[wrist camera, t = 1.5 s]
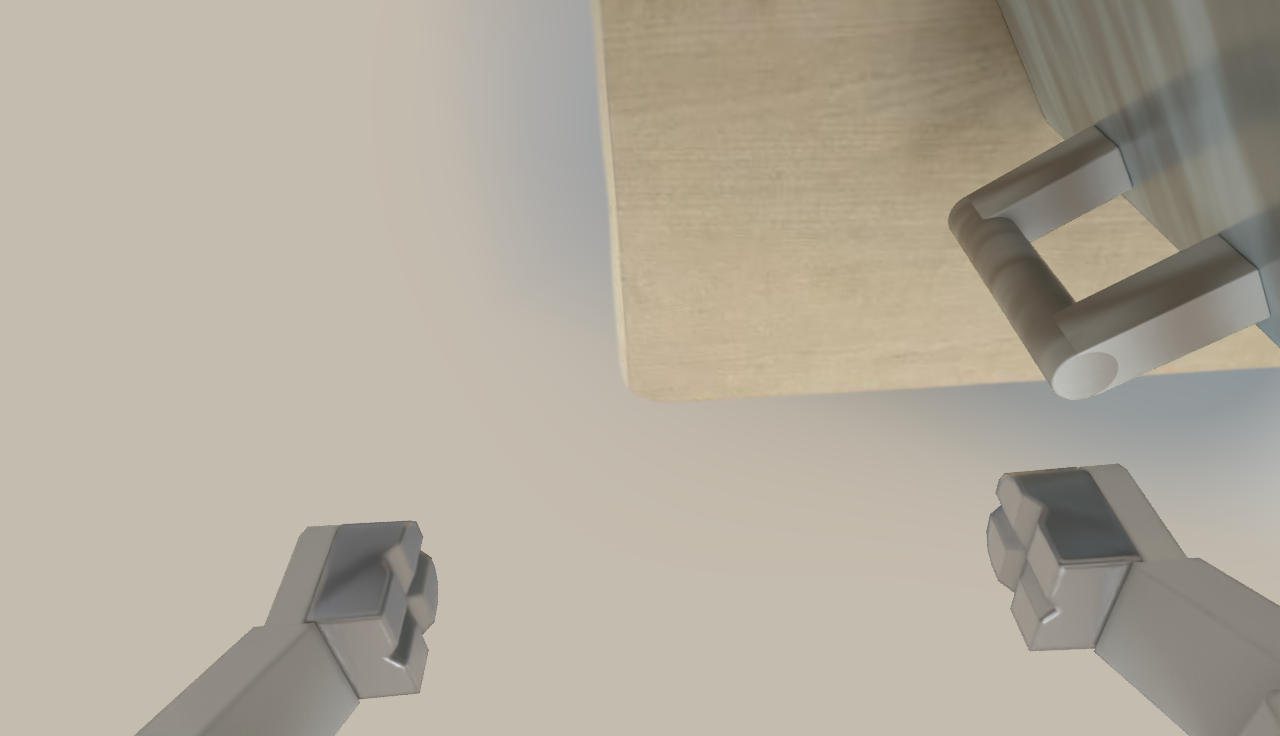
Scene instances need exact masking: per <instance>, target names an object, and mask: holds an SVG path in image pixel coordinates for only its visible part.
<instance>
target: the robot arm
mask: <svg viewBox="0 0 1280 736" xmlns="http://www.w3.org/2000/svg"><path fill="white" fill-rule="evenodd" d="M996 495H997V496H998V499H999V501H1000V503H1001V506H1000V507H998V508H997V509H996V510H995V511H994V512H993V513H991V514H990V517H989V522H988V526H987V547H988V553H989V557H990V561H991V564H992V567H993V569H994V572H995V574H996V577H997V579H998V581H999V582H1000V583H1002V584H1003V585H1004V586H1006V587H1008V588H1009V589H1010V590H1011V591H1013V592H1014V593H1015V595H1014V598H1013V602H1012V605H1011V611H1012V613H1013V616H1014V618H1015V620H1016V622H1017V625H1018V627H1019V629H1020V631H1021V634H1022V636H1023V638H1024V640H1025V643H1026V645H1027V647H1028V649H1029V651H1044V650H1045V651H1046V650H1068V649H1092V648H1095V650H1094V652H1095V653H1096V654H1097V655H1098V656H1100V657H1101V658H1102V659H1103V660H1104V661H1105V662H1106V663H1108V664H1109V665H1110V666H1111V667H1112V668H1113V669H1114V670H1115V671H1117V672H1118V673H1119V674H1120V675H1121V676H1122V677H1123V678H1125V679H1126V680H1127V681H1128V682H1129V683H1130V684H1131V685H1133V686H1134V687H1135V688H1136V689H1137V690H1138V691H1139V692H1140V693H1142V694H1143V695H1144V696H1145V697H1146V698H1147V699H1148V700H1150V701H1151V702H1152V703H1153V704H1154V705H1155V706H1156V707H1157V708H1158V709H1160V710H1161V711H1162V712H1163V713H1164V714H1165V715H1166V716H1168V717H1169V718H1170V719H1171V720H1172V721H1173V722H1174V723H1175V724H1177V725H1178V726H1179V727H1180V728H1181V729H1182V730H1183V731H1185V732H1186V733H1187V734H1188V735H1189V736H1280V606H1279V605H1277V604H1275V603H1274V602H1272V601H1270V600H1268V599H1267V598H1265V597H1264V596H1262V595H1260V594H1259V593H1257V592H1255V591H1254V590H1252V589H1250V588H1249V587H1247V586H1245V585H1244V584H1242V583H1240V582H1238V581H1237V580H1235V579H1234V578H1232V577H1230V576H1229V575H1227V574H1225V573H1224V572H1222V571H1220V570H1219V569H1217V568H1215V567H1214V566H1212V565H1210V564H1209V563H1207V562H1205V561H1204V560H1202V559H1200V558H1187V557H1186V555H1185V554H1184V552H1183V551H1182V549H1181V548H1180V546H1179V545H1178V543H1177V542H1176V540H1175V539H1174V538H1173V536H1172V535H1171V533H1170V532H1169V530H1168V529H1167V527H1166V526H1165V524H1164V523H1163V522H1162V520H1161V519H1160V517H1159V516H1158V514H1157V513H1156V511H1155V510H1154V508H1153V507H1152V506H1151V504H1150V503H1149V501H1148V500H1147V498H1146V497H1145V495H1144V494H1143V493H1142V491H1141V489H1140V488H1139V487H1138V485H1137V484H1136V482H1135V481H1134V479H1133V478H1132V476H1131V475H1130V473H1129V472H1128V470H1127V469H1126V468H1124V467H1123V466H1121V465H1120V464H1110V465H1097V466H1086V467H1079V468H1077V467H1069V468H1058V469H1047V470H1037V471H1025V472H1014V473H1004V475H1003V476H1002V477H1001V478H1000V479H999V482H998V485H997V489H996ZM422 539H423V536H422V533H421V531H420V529H419V527H418V524H417V522H416V521H395V522H378V523H377V522H376V523H357V524H342V525H328V526H312V527H307V528H306V529H305V531H304V532H303V533H302V534H301V535H300V536H299V538H298V541H297V544H296V546H295V549H294V551H293V554H292V556H291V559H290V562H289V564H288V566H287V569H286V571H285V574H284V577H283V579H282V582H281V585H280V587H279V589H278V592H277V594H276V597H275V600H274V602H273V605H272V608H271V610H270V612H269V615H268V617H267V620H266V622H265V625H264V626H261V627H253V628H252V629H251V630H250V631H249V632H248V633H247V634H246V635H244V636H243V637H242V638H241V639H240V640H239V641H238V642H237V643H236V644H235V645H233V646H232V647H231V648H230V649H229V650H228V651H227V652H226V653H225V654H224V655H222V656H221V657H220V658H219V659H218V660H217V661H216V662H215V663H214V664H212V665H211V666H210V667H209V668H208V669H207V670H206V671H205V672H204V673H203V674H201V675H200V676H199V677H198V678H197V679H196V680H195V681H194V682H193V683H192V684H190V685H189V686H188V687H187V688H186V689H185V690H184V691H183V692H182V693H180V694H179V695H178V696H177V697H176V698H175V699H174V700H173V701H172V702H171V703H169V705H167V706H166V707H165V708H164V709H163V710H162V711H161V712H160V713H158V714H157V715H156V716H155V717H154V718H153V719H152V720H151V721H150V722H149V723H147V724H146V725H145V726H144V727H143V728H142V729H141V730H140V731H139V732H138V733H137V734H136V735H134V736H335V734H336V733H337V732H338V730H339V729H340V728H341V727H342V725H343V724H344V723H345V721H346V720H347V719H348V718H349V716H350V715H351V714H352V712H353V711H354V710H355V709H356V707H357V706H358V705H359V703H360V701H359V699H366V698H377V697H387V696H397V695H408V694H418V693H420V689H421V684H422V679H423V675H424V670H425V665H426V660H427V655H428V651H429V650H428V648H427V645H426V643H425V641H424V638H423V636H422V635H423V634H424V632H426V630H427V629H428V628H429V627H430V626H431V625H432V624H433V623H434V621H435V616H436V610H437V605H438V604H437V603H438V581H437V576H436V570H435V566H434V564H433V561H432V558H431V557H430V556H429V555H427V554H425V553H424V552H422V551H421V550H420V548H421V544H422Z"/></svg>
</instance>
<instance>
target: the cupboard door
mask: <svg viewBox="0 0 1280 736" xmlns="http://www.w3.org/2000/svg"><path fill="white" fill-rule="evenodd" d="M997 1H998V4H999V6H1000V9H1001V11H1002V14H1003V16H1004V18H1005V21H1006V23H1007V26H1008V28H1009V31H1010V33H1011V35H1012V38H1013V40H1014V43H1015V45H1016V48H1017V50H1018V52H1019V55H1020V57H1021V60H1022V62H1023V65H1024V67H1025V69H1026V72H1027V74H1028V77H1029V79H1030V82H1031V84H1032V86H1033V89H1034V91H1035V94H1036V96H1037V99H1038V101H1039V103H1040V106H1041V108H1042V111H1043V113H1044V116H1045V118H1046V120H1047V123H1048V124H1049V125H1050V126H1051V127H1052V128H1053V129H1054V130H1055V131H1056V132H1057V133H1058V134H1059V135H1060V136H1061V137H1063V138H1064V139H1065V141H1063V142H1062V143H1060V144H1058V145H1056V146H1055V147H1053V148H1051V149H1049V150H1047V151H1046V152H1044V153H1042V154H1040V155H1039V156H1037V157H1035V158H1033V159H1031V160H1030V161H1028V162H1026V163H1024V164H1023V165H1021V166H1019V167H1017V168H1016V169H1014V170H1012V171H1010V172H1008V173H1007V174H1005V175H1003V176H1001V177H1000V178H998V179H996V180H994V181H992V182H991V183H989V184H987V185H985V186H984V187H982V188H980V189H978V190H977V191H975V192H973V193H971V194H969V195H968V196H966V197H964V198H962V199H961V200H960V201H958V202H957V203H956V204H955V206H954V207H953V208H952V210H951V212H950V214H949V219H948V224H949V228H950V230H951V231H952V233H953V235H954V236H955V238H956V239H957V241H958V242H959V244H960V246H961V247H962V249H963V250H964V252H965V253H966V255H967V256H968V258H969V260H970V261H971V263H972V264H973V266H974V267H975V269H976V271H977V272H978V274H979V275H980V277H981V278H982V280H983V281H984V283H985V285H986V286H987V288H988V289H989V291H990V292H991V294H992V296H993V297H994V299H995V300H996V302H997V303H998V305H999V306H1000V308H1001V310H1002V311H1003V313H1004V314H1005V316H1006V317H1007V319H1008V320H1009V322H1010V324H1011V325H1012V327H1013V328H1014V330H1015V331H1016V333H1017V335H1018V336H1019V338H1020V339H1021V341H1022V342H1023V344H1024V345H1025V347H1026V349H1027V350H1028V352H1029V353H1030V355H1031V356H1032V358H1033V360H1034V361H1035V363H1036V364H1037V366H1038V367H1039V369H1040V370H1041V372H1042V374H1043V375H1044V377H1045V378H1046V380H1047V381H1048V383H1049V385H1050V386H1051V388H1052V389H1053V391H1054V392H1055V393H1056V394H1057V395H1059V396H1061V397H1063V398H1065V399H1071V400H1079V399H1085V398H1089V397H1092V396H1094V395H1097V394H1100V393H1102V392H1104V391H1107V390H1109V389H1111V388H1113V387H1116V386H1118V385H1120V384H1122V383H1124V382H1127V381H1129V380H1131V379H1133V378H1136V377H1138V376H1140V375H1142V374H1144V373H1147V372H1149V371H1151V370H1153V369H1156V368H1158V367H1160V366H1162V365H1164V364H1167V363H1169V362H1171V361H1173V360H1176V359H1178V358H1180V357H1182V356H1184V355H1187V354H1189V353H1191V352H1193V351H1196V350H1198V349H1200V348H1202V347H1204V346H1207V345H1209V344H1211V343H1213V342H1216V341H1218V340H1220V339H1222V338H1224V337H1227V336H1229V335H1231V334H1233V333H1236V332H1238V331H1240V330H1242V329H1244V328H1247V327H1249V326H1251V325H1253V324H1256V325H1257V326H1258V327H1259V328H1260V329H1261V330H1262V331H1263V332H1264V333H1265V334H1266V335H1267V336H1268V337H1269V338H1270V339H1271V340H1272V341H1273V342H1274V343H1275V344H1276V345H1277V346H1278V347H1279V348H1280V0H997ZM1119 195H1122V196H1123V197H1124V198H1126V199H1127V200H1128V201H1129V202H1130V203H1131V204H1132V205H1133V206H1134V207H1135V208H1136V209H1137V210H1138V211H1139V212H1140V213H1141V214H1142V215H1143V216H1144V217H1145V218H1146V219H1147V220H1148V221H1149V222H1150V223H1151V224H1152V225H1153V226H1154V227H1155V228H1157V229H1158V230H1159V231H1160V232H1161V233H1162V234H1163V235H1164V236H1165V237H1166V238H1167V239H1168V240H1169V241H1170V242H1171V243H1172V244H1173V245H1174V246H1175V247H1176V248H1177V249H1178V250H1179V251H1180V252H1178V253H1176V254H1174V255H1172V256H1170V257H1168V258H1166V259H1164V260H1162V261H1160V262H1158V263H1156V264H1154V265H1152V266H1150V267H1148V268H1146V269H1144V270H1142V271H1140V272H1138V273H1136V274H1134V275H1132V276H1130V277H1128V278H1126V279H1124V280H1122V281H1120V282H1118V283H1115V284H1113V285H1111V286H1109V287H1107V288H1105V289H1103V290H1101V291H1099V292H1097V293H1095V294H1093V295H1091V296H1089V297H1087V298H1085V299H1083V300H1081V301H1079V302H1077V303H1076V302H1075V300H1074V299H1073V298H1072V296H1071V295H1070V294H1069V293H1068V291H1067V290H1066V289H1065V287H1064V286H1063V285H1062V283H1061V282H1060V281H1059V280H1058V278H1057V277H1056V276H1055V274H1054V273H1053V272H1052V271H1051V269H1050V268H1049V267H1048V265H1047V264H1046V263H1045V261H1044V260H1043V259H1042V258H1041V256H1040V255H1039V254H1038V252H1037V251H1036V250H1035V248H1034V247H1033V246H1032V245H1031V243H1030V242H1032V241H1034V240H1036V239H1038V238H1040V237H1042V236H1043V235H1045V234H1047V233H1049V232H1051V231H1053V230H1055V229H1057V228H1059V227H1060V226H1062V225H1064V224H1066V223H1068V222H1070V221H1072V220H1074V219H1076V218H1078V217H1079V216H1081V215H1083V214H1085V213H1087V212H1089V211H1091V210H1093V209H1095V208H1096V207H1098V206H1100V205H1102V204H1104V203H1106V202H1108V201H1110V200H1112V199H1113V198H1115V197H1117V196H1119Z"/></svg>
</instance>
